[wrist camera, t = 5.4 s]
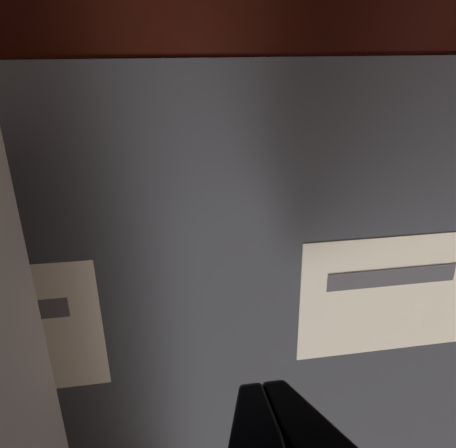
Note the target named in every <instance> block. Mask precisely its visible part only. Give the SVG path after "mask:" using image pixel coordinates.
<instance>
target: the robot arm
mask: <svg viewBox="0 0 456 448" xmlns="http://www.w3.org/2000/svg"><path fill="white" fill-rule="evenodd" d="M228 448H359V447H358V446H356V445H355V444H354V443H353V442H352V441H351V440H350V439H349V438H348V437H347V436H346V435H344V434H343V433H342V432H341V431H340V430H339V429H338V428H337V427H336V426H335V425H333V424H332V423H331V422H330V421H329V420H328V419H327V418H326V417H325V416H324V415H323V414H321V413H320V412H319V411H318V410H317V409H316V408H315V407H314V406H313V405H312V404H311V403H309V402H308V401H307V400H306V399H305V398H304V397H303V396H302V395H301V394H300V393H298V392H297V391H296V390H295V389H294V388H293V387H292V386H291V385H290V384H289V383H288V382H286V381H285V380H273V381H266V382H264V383H263V384H261V383H258V382H257V383H249V384H242V385H240V387H239V390H238V396H237V401H236V406H235V412H234V417H233V422H232V428H231V433H230V438H229V444H228Z"/></svg>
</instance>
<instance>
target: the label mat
mask: <svg viewBox="0 0 456 448" xmlns="http://www.w3.org/2000/svg"><path fill="white" fill-rule="evenodd" d="M0 128H1V133H2V137H3V142H4V147H5V151H6V156H7V161H8V165H9V170H10V175H11V179H12V184H13V189H14V194H15V198H16V203H17V208H18V212H19V217H20V222H21V226H22V231H23V236H24V240H25V245H26V250H27V254H28V259H29V264H30V268H31V273H32V278H33V283H34V287H35V292H36V297H37V301H38V306H39V311H40V315H41V320H42V325H43V329H44V334H45V339H46V343H47V348H48V353H49V358H50V362H51V367H52V372H53V376H54V381H55V386H56V390H57V395H58V400H59V404H60V409H61V414H62V418H63V423H64V428H65V432H66V437H67V442H68V447H69V448H228V444H229V438H230V433H231V428H232V422H233V417H234V412H235V406H236V401H237V396H238V390H239V387H240V385H242V384H249V383H257V382H258V383H261V384H263V383H264V382H266V381H273V380H285V381H286V382H288V383H289V384H290V385H291V386H292V387H293V388H294V389H295V390H296V391H297V392H298V393H300V394H301V395H302V396H303V397H304V398H305V399H306V400H307V401H308V402H309V403H311V404H312V405H313V406H314V407H315V408H316V409H317V410H318V411H319V412H320V413H321V414H323V415H324V416H325V417H326V418H327V419H328V420H329V421H330V422H331V423H332V424H333V425H335V426H336V427H337V428H338V429H339V430H340V431H341V432H342V433H343V434H344V435H346V436H347V437H348V438H349V439H350V440H351V441H352V442H353V443H354V444H355V445H356V446H358V447H359V448H456V55H412V56H319V57H225V58H131V59H38V60H0Z"/></svg>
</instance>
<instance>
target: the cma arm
mask: <svg viewBox="0 0 456 448" xmlns="http://www.w3.org/2000/svg"><path fill="white" fill-rule="evenodd" d="M0 448H69V447H68V442H67V437H66V432H65V428H64V423H63V418H62V414H61V409H60V404H59V400H58V395H57V390H56V386H55V381H54V376H53V372H52V367H51V362H50V358H49V353H48V348H47V343H46V339H45V334H44V329H43V325H42V320H41V315H40V311H39V306H38V301H37V297H36V292H35V287H34V283H33V278H32V273H31V268H30V264H29V259H28V254H27V250H26V245H25V240H24V236H23V231H22V226H21V222H20V217H19V212H18V208H17V203H16V198H15V194H14V189H13V184H12V179H11V175H10V170H9V165H8V161H7V156H6V151H5V147H4V142H3V137H2V133H1V128H0Z"/></svg>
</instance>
